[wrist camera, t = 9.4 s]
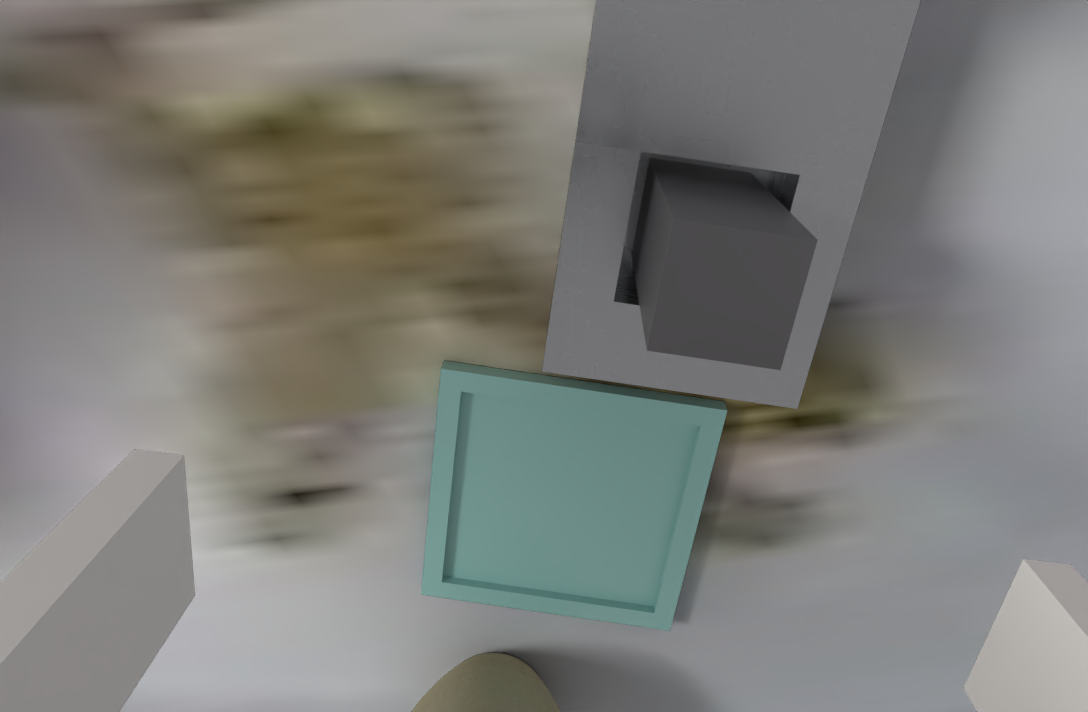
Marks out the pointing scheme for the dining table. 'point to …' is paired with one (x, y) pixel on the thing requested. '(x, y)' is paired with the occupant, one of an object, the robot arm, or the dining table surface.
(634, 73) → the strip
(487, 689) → the flower pot
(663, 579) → the tray
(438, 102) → the dining table surface
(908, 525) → the dining table surface
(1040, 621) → the robot arm
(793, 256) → the plug
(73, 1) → the dining table surface
